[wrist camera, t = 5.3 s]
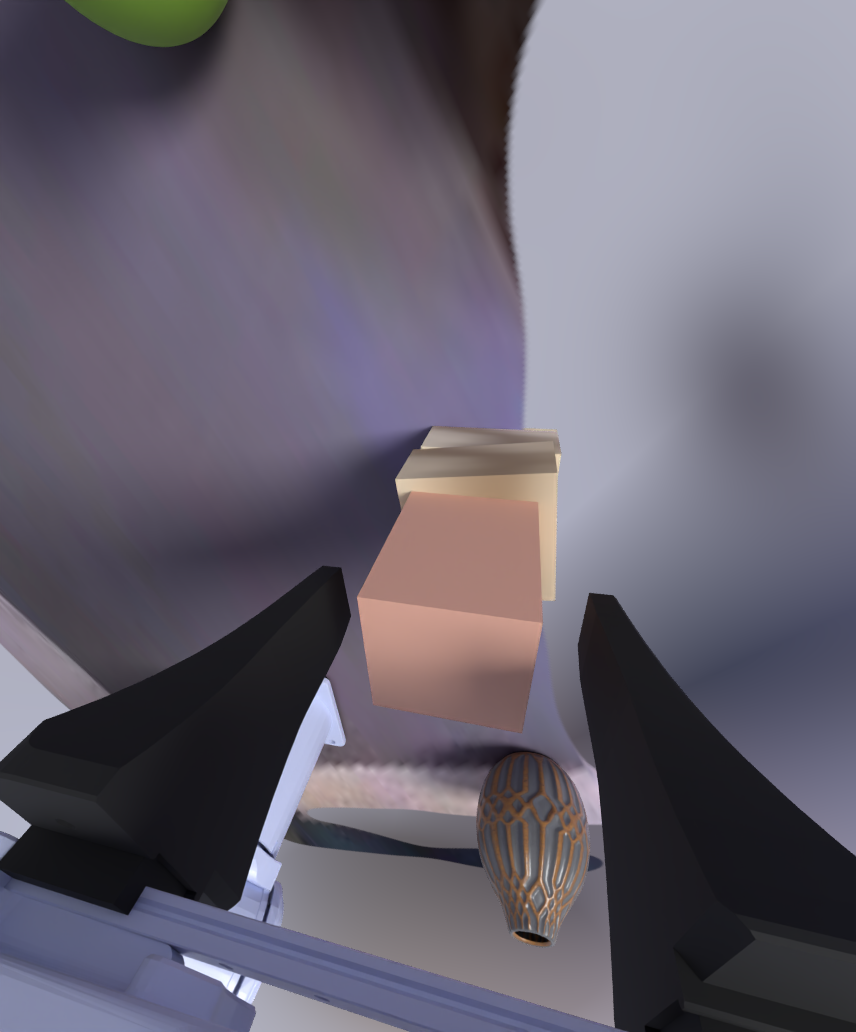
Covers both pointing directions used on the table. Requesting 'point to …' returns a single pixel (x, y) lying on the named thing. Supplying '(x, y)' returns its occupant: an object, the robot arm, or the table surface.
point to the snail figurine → (153, 18)
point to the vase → (533, 844)
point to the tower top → (493, 484)
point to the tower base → (489, 437)
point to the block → (456, 610)
